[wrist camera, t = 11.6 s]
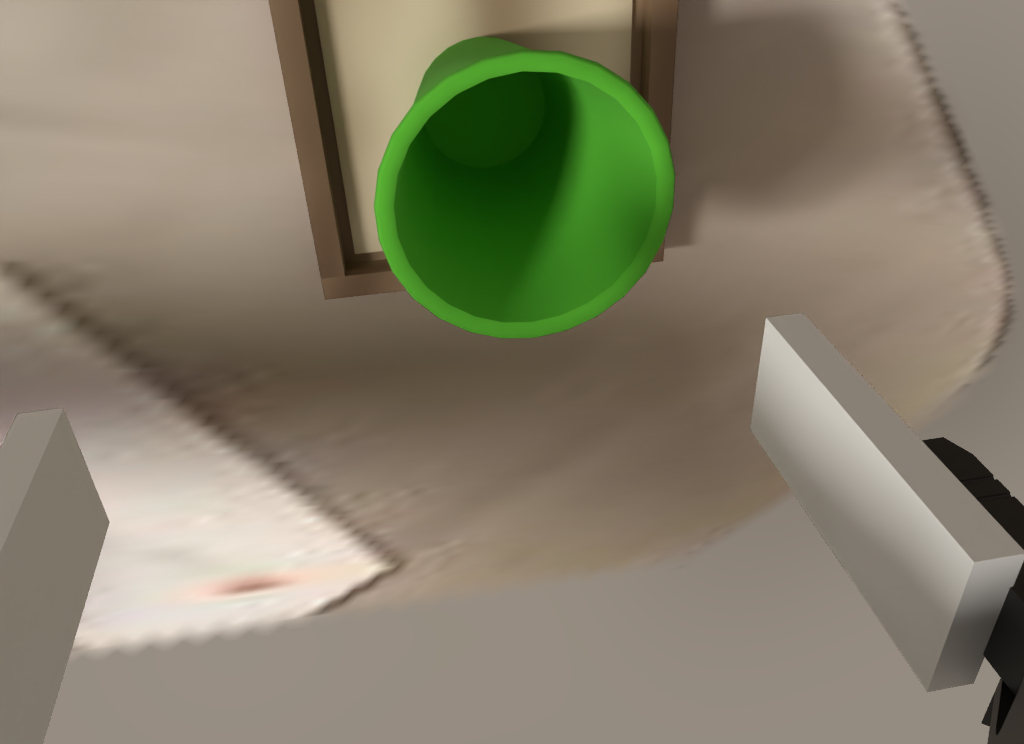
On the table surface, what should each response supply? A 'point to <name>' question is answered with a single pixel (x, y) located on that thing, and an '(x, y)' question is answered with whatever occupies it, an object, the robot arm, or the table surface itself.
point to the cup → (522, 189)
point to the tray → (395, 82)
